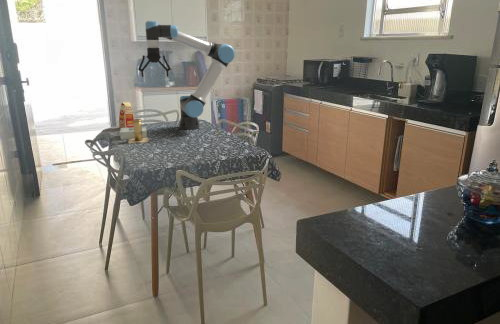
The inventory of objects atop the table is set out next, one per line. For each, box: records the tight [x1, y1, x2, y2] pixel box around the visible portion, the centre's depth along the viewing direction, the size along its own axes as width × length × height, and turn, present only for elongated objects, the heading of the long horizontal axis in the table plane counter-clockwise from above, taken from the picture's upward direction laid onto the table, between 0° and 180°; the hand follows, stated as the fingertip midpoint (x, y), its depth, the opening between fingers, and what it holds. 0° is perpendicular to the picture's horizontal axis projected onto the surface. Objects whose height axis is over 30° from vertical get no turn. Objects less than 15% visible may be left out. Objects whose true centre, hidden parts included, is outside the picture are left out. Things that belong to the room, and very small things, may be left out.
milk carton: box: [118, 100, 136, 130], centre depth 268 cm, size 9×9×20 cm
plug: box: [133, 118, 143, 141], centre depth 236 cm, size 5×5×13 cm
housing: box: [119, 126, 148, 141], centre depth 248 cm, size 16×12×5 cm
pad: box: [128, 137, 150, 145], centre depth 238 cm, size 12×10×1 cm
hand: (155, 81), depth 246 cm, fingers open, 13 cm apart
